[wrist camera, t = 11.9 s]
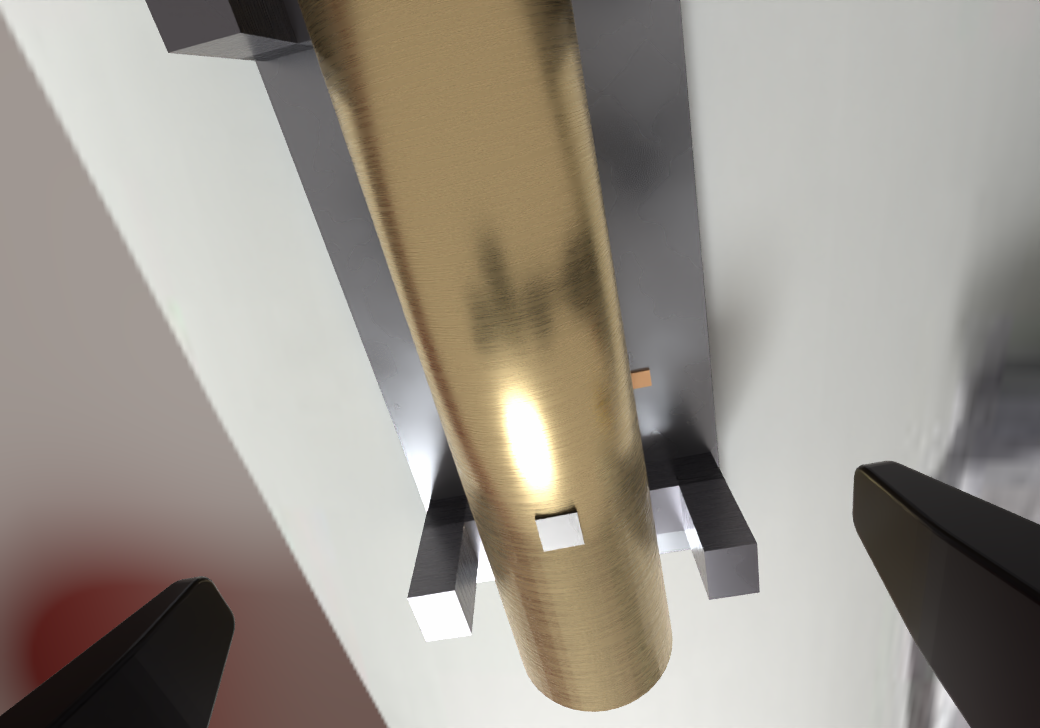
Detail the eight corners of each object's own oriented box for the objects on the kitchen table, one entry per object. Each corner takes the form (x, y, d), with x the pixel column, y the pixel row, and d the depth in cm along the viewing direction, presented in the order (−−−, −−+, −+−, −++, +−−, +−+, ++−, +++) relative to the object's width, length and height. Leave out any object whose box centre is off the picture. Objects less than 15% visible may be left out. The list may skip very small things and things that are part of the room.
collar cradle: (196, -138, 14) (14, -262, 9) (645, -278, 13) (721, -509, 8) (457, 567, 24) (440, 691, 19) (717, 525, 23) (770, 645, 18)
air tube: (282, -160, 12) (138, -318, 7) (518, -231, 11) (524, -448, 7) (519, 588, 21) (522, 725, 17) (652, 565, 21) (692, 698, 16)
